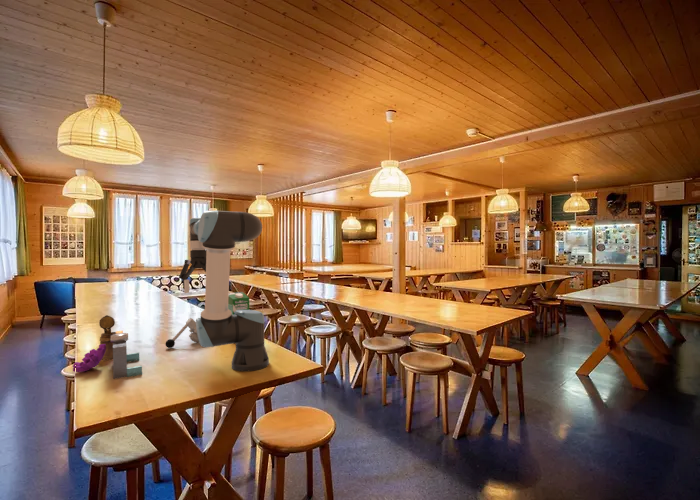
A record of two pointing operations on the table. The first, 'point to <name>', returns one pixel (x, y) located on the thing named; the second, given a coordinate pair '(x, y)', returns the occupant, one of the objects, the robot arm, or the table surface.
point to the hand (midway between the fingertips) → (199, 292)
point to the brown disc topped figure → (107, 336)
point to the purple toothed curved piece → (90, 359)
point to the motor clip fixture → (123, 357)
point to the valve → (189, 323)
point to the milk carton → (238, 302)
